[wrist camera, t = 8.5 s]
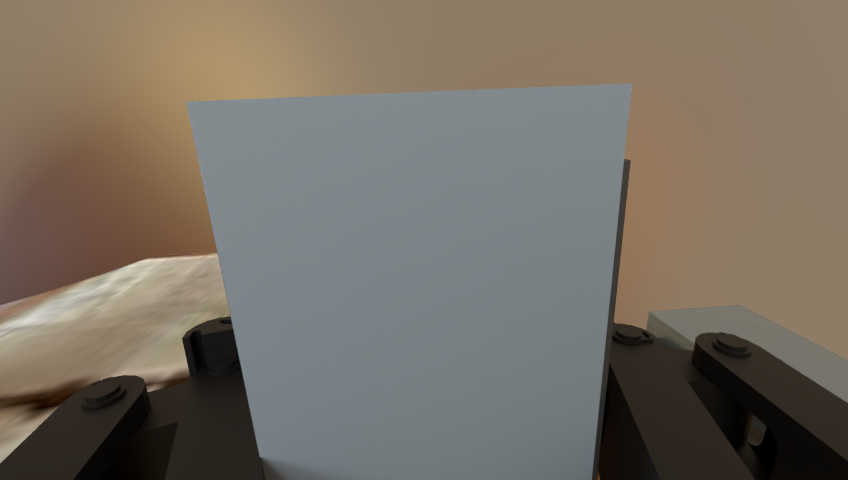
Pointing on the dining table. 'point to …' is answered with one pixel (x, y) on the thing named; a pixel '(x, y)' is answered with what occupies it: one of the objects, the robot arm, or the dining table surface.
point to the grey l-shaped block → (782, 343)
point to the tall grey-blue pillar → (421, 276)
